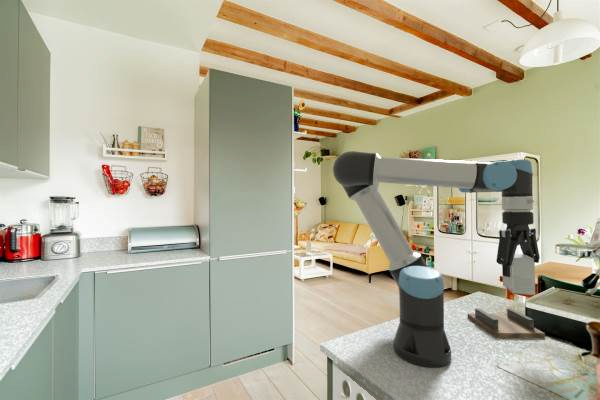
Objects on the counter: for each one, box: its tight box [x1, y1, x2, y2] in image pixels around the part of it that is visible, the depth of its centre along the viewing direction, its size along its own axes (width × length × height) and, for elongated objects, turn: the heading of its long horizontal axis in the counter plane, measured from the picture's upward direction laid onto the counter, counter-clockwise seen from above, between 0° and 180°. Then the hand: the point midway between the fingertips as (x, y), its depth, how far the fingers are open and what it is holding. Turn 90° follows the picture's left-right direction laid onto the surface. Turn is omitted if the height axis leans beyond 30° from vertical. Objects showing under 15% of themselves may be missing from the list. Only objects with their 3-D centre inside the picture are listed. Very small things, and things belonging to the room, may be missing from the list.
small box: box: [506, 253, 536, 296], centre depth 86 cm, size 8×6×10 cm
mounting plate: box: [467, 307, 546, 339], centre depth 98 cm, size 15×16×4 cm
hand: (519, 285), depth 86 cm, fingers closed on small box, 9 cm apart
